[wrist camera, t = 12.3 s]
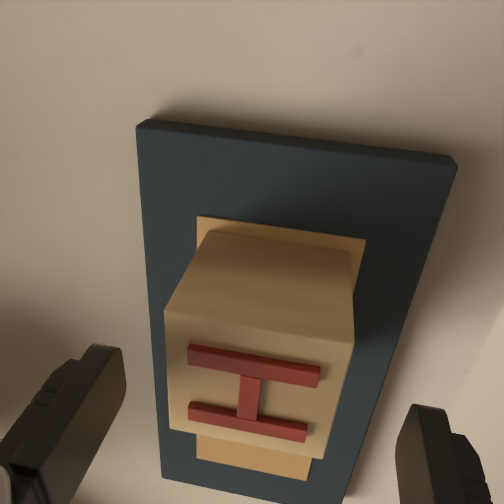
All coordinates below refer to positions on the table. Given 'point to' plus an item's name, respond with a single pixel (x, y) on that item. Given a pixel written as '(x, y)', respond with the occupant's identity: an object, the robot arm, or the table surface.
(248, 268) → the tile
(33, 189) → the table surface
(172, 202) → the word mat
